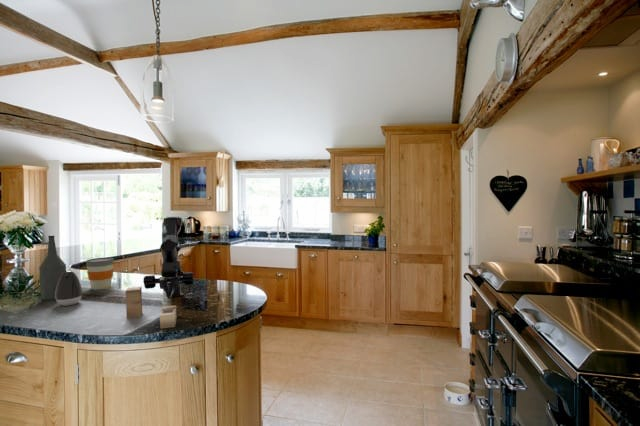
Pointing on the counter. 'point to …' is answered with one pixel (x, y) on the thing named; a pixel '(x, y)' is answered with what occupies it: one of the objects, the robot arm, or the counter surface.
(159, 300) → the counter surface
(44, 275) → the bottle
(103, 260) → the reusable coffee cup
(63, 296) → the aroma diffuser
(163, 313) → the maple block
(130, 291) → the walnut block
